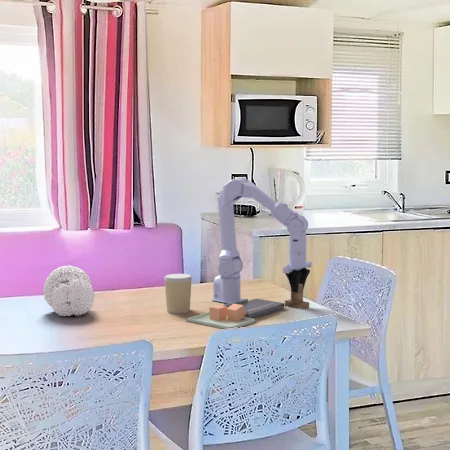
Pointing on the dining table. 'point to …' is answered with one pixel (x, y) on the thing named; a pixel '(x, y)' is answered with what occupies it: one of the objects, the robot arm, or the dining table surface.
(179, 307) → the coffee cup
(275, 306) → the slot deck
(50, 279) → the cauliflower
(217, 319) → the block
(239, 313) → the block
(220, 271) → the robot arm
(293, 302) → the tan stepped block
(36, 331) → the dining table surface
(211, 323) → the tray
